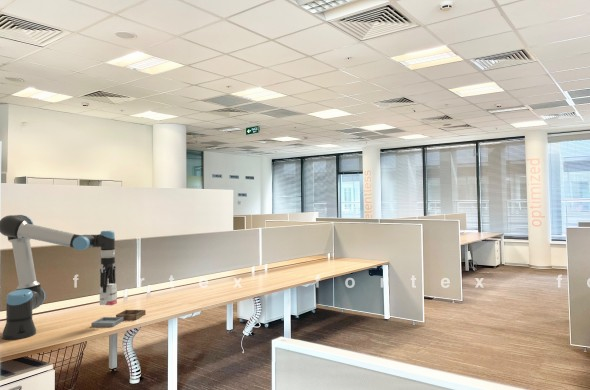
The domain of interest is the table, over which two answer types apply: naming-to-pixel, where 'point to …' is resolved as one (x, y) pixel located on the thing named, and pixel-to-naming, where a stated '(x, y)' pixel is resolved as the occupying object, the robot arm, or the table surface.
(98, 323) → the tray
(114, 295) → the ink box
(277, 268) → the table surface
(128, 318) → the brown wooden box
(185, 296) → the table surface
